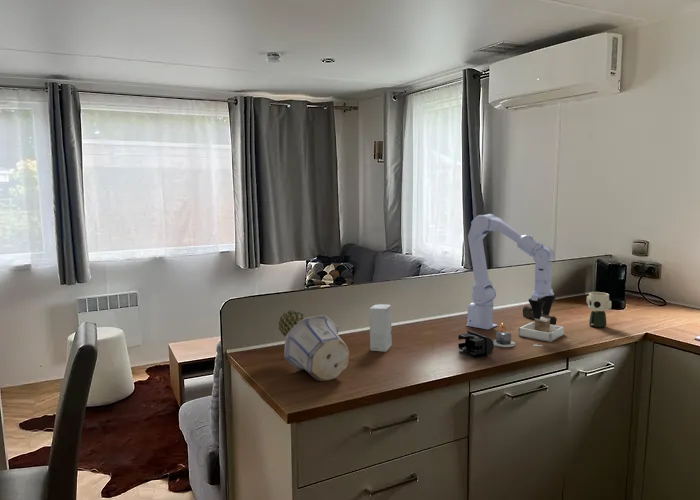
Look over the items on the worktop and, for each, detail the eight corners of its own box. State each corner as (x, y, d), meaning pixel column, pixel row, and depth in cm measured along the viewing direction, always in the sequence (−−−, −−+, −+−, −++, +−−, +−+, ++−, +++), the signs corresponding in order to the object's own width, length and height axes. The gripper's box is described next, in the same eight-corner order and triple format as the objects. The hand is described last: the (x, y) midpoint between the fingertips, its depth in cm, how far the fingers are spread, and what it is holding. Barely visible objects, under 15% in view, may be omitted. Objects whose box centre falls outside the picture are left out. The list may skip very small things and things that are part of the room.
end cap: (494, 356, 173) (494, 336, 173) (476, 360, 170) (476, 339, 170) (474, 348, 182) (474, 329, 182) (457, 351, 179) (457, 332, 178)
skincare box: (386, 352, 179) (386, 309, 178) (369, 351, 181) (368, 308, 179) (392, 345, 187) (392, 303, 185) (375, 344, 189) (375, 302, 187)
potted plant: (361, 329, 154) (312, 289, 177) (305, 342, 145) (262, 298, 168) (356, 381, 160) (309, 335, 183) (302, 397, 151) (261, 347, 174)
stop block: (534, 334, 196) (534, 318, 196) (538, 332, 200) (539, 316, 199) (545, 336, 194) (545, 320, 193) (549, 334, 197) (550, 318, 196)
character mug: (579, 324, 211) (580, 292, 210) (592, 322, 215) (593, 290, 213) (603, 330, 202) (605, 297, 200) (616, 328, 205) (617, 295, 203)
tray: (518, 335, 196) (518, 327, 196) (532, 329, 205) (532, 321, 205) (550, 341, 188) (551, 333, 188) (563, 334, 197) (564, 326, 197)
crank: (511, 344, 184) (511, 331, 183) (496, 343, 185) (496, 330, 184) (508, 334, 196) (509, 322, 195) (494, 333, 197) (495, 321, 196)
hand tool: (557, 326, 210) (557, 314, 210) (548, 327, 209) (548, 315, 209) (528, 315, 228) (528, 304, 228) (520, 316, 227) (520, 305, 227)
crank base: (492, 346, 184) (492, 345, 184) (491, 340, 191) (491, 338, 191) (544, 349, 180) (544, 347, 180) (541, 342, 188) (541, 341, 188)
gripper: (545, 284, 186) (544, 322, 188) (561, 278, 197) (560, 314, 199) (526, 282, 191) (525, 319, 193) (542, 276, 202) (541, 311, 203)
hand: (541, 316), depth 196 cm, fingers open, 7 cm apart
